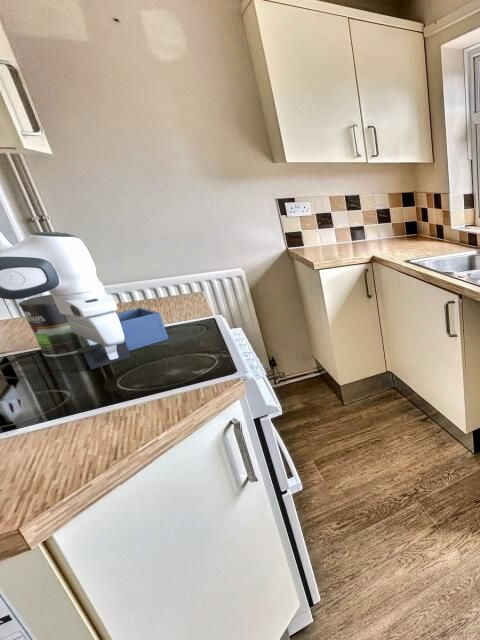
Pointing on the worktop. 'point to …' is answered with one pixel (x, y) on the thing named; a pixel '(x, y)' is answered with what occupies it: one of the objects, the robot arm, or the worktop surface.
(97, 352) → the dark gray block
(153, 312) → the blue box
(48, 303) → the coffee can
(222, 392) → the worktop surface
